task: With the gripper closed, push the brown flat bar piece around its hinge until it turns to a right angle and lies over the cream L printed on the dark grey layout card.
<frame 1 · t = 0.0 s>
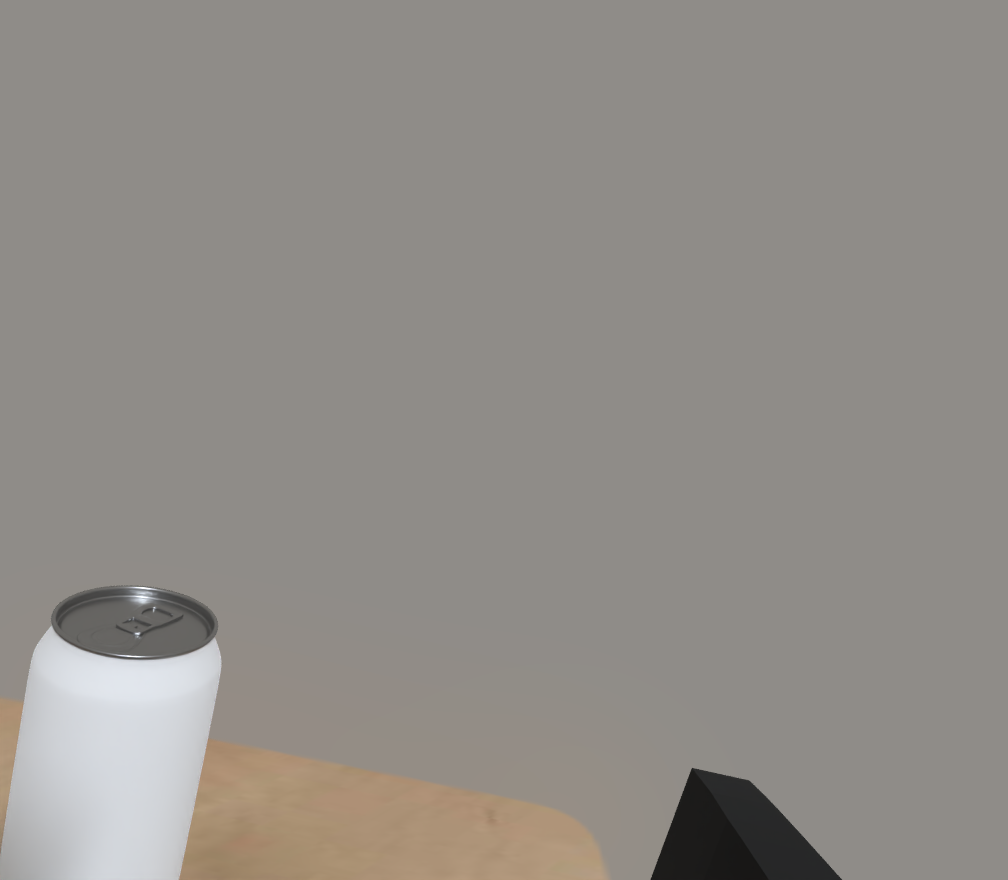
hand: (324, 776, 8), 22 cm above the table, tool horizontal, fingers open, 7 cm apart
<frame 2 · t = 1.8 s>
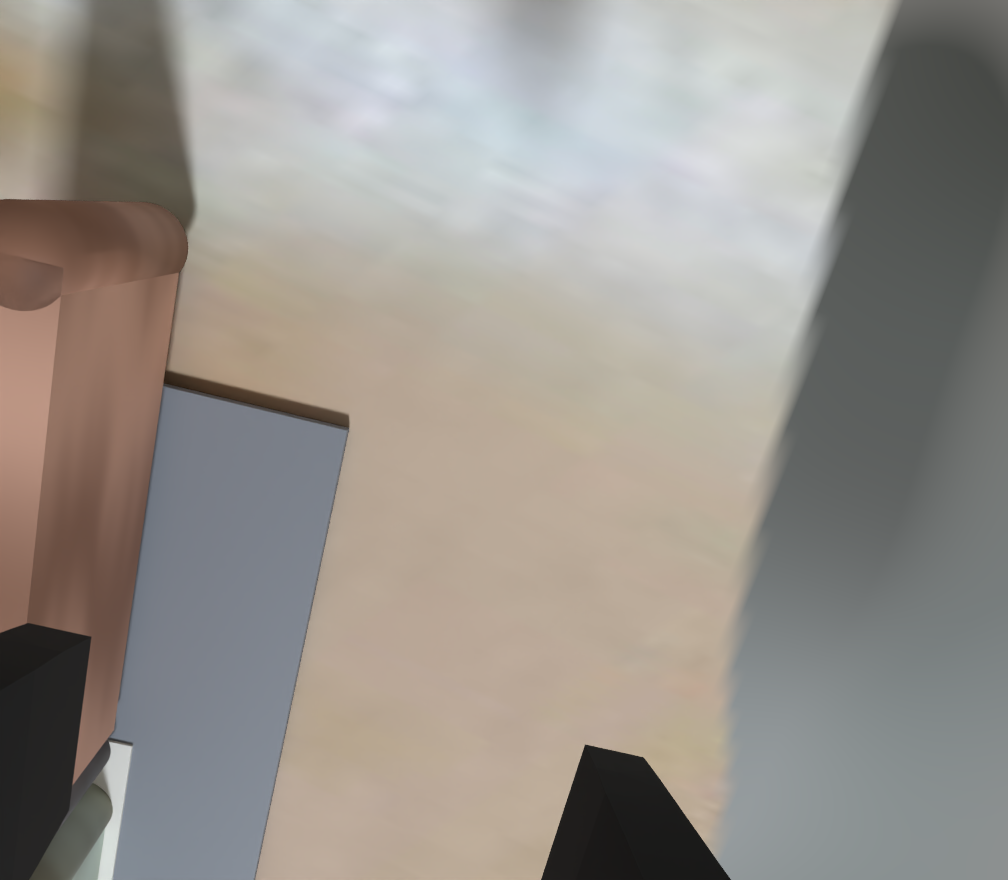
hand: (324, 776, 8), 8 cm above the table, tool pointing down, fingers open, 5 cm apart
brown flat bar piece: (51, 563, 14), point 3 cm above the table, hinge at 0.0°
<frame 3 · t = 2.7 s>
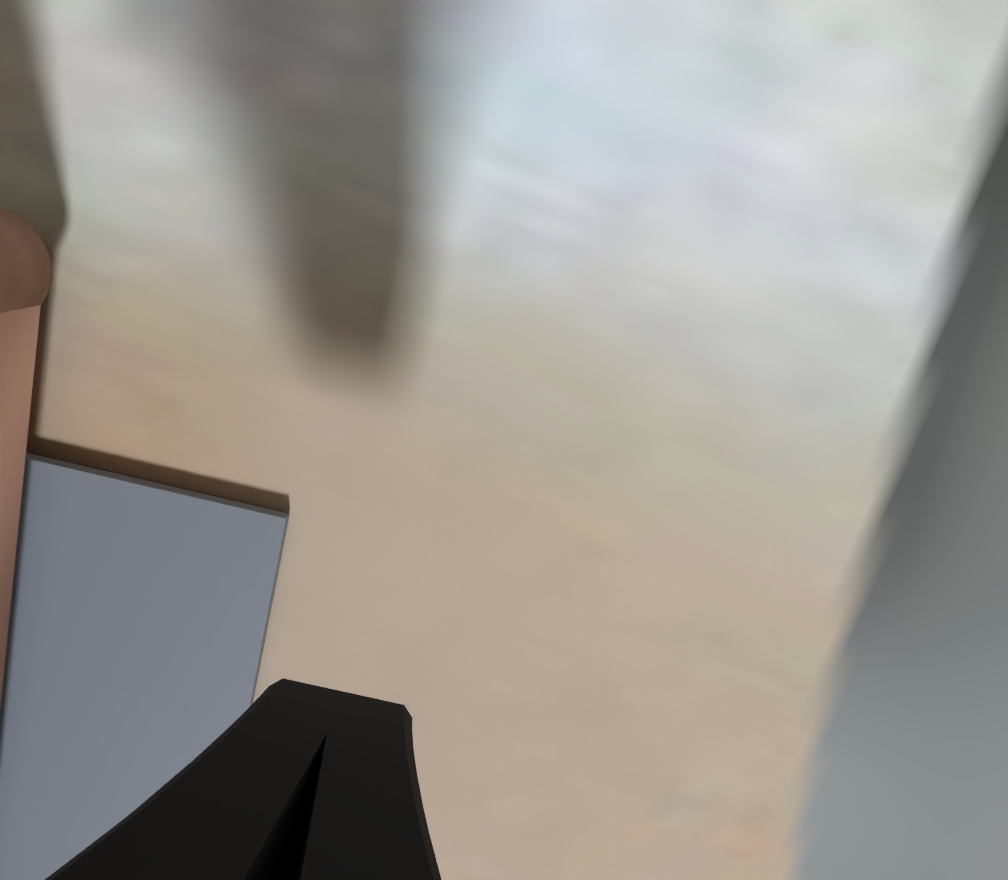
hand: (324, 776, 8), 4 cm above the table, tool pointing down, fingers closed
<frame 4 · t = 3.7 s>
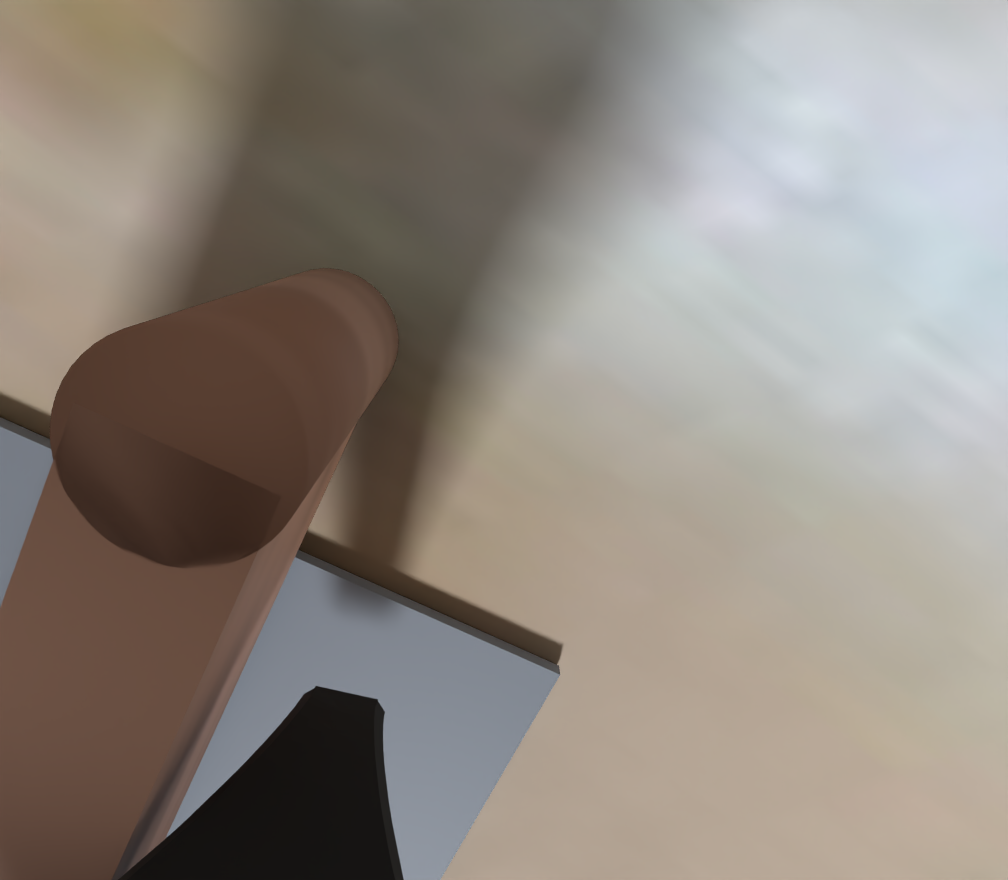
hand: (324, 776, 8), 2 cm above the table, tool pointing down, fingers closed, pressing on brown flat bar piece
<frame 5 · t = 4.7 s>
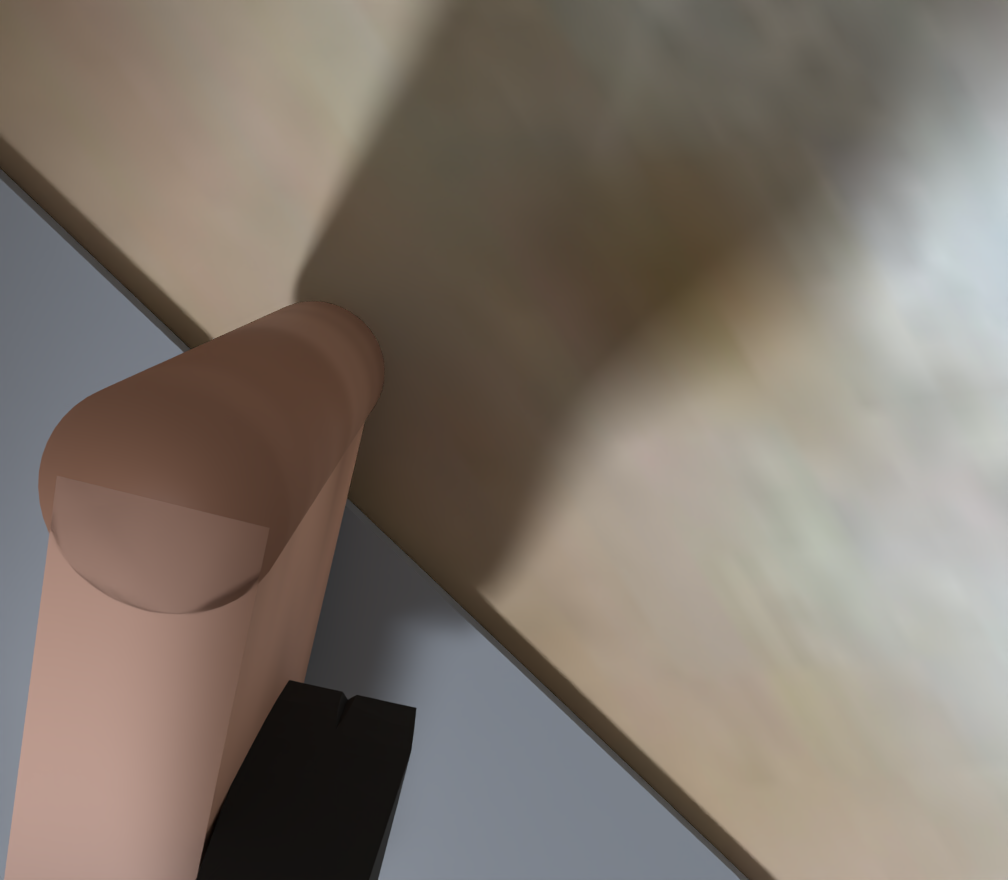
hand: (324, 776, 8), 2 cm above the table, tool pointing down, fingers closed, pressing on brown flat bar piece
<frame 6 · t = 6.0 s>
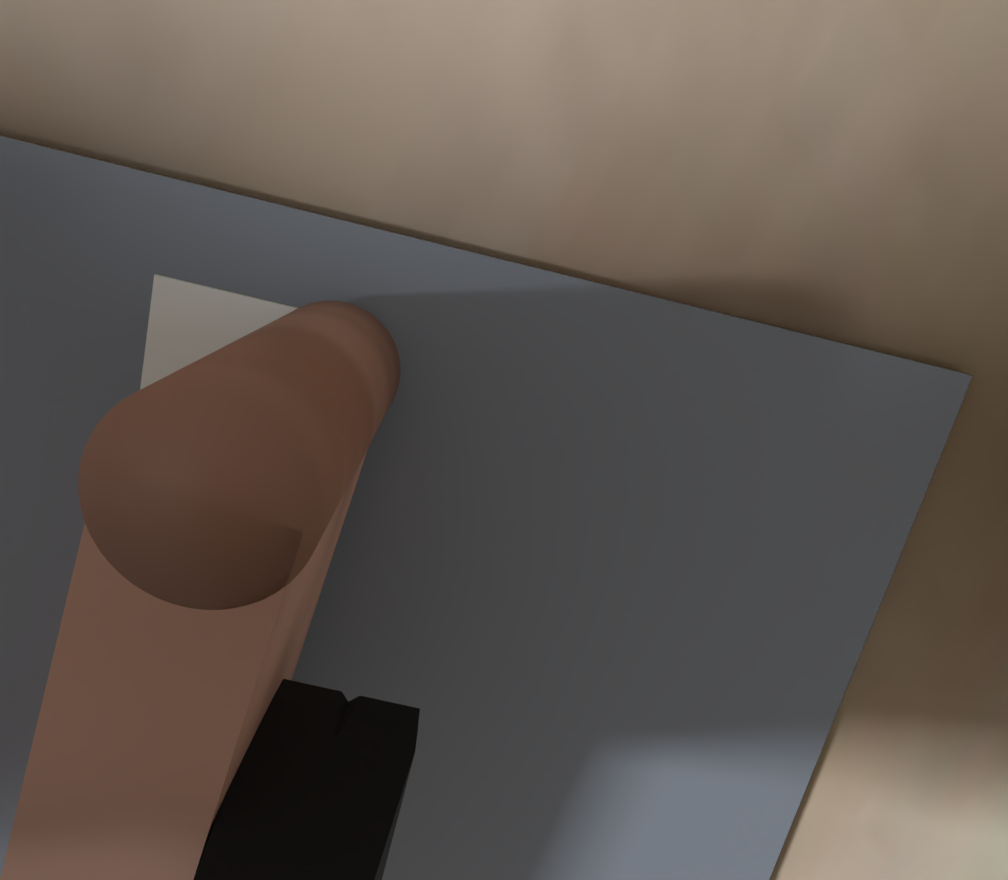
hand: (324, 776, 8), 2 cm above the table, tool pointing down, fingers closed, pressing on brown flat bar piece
layout card: (89, 800, 11), on the table
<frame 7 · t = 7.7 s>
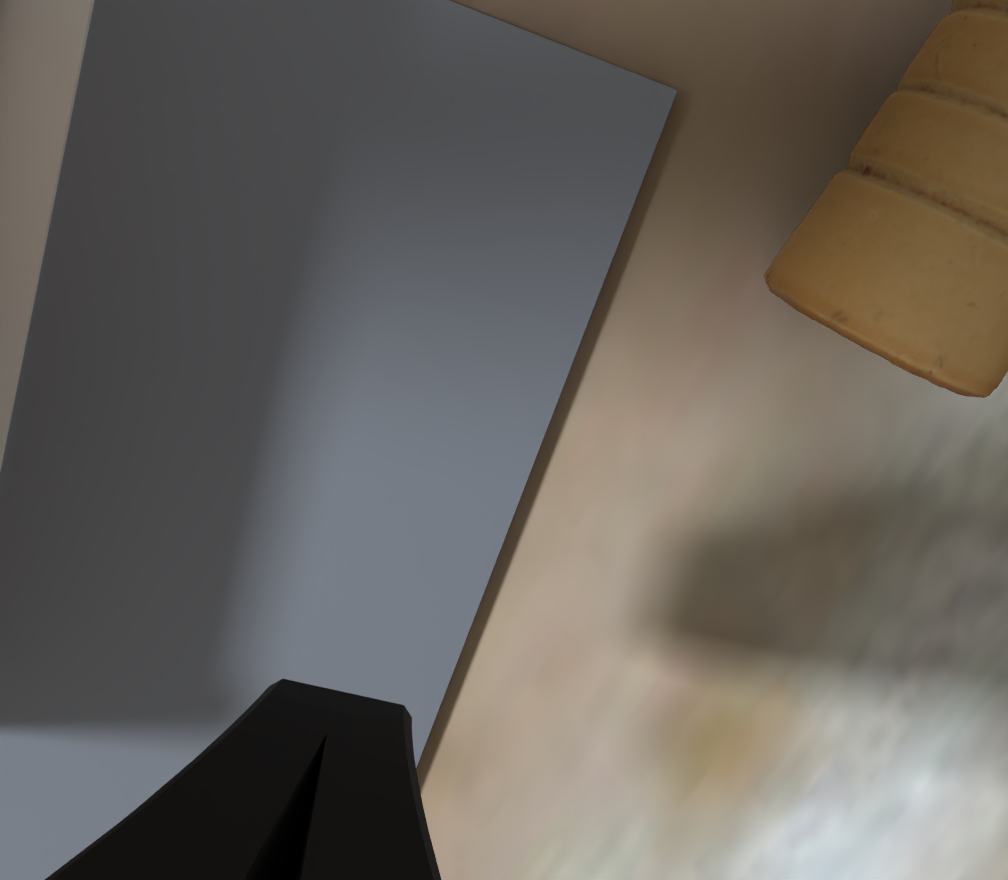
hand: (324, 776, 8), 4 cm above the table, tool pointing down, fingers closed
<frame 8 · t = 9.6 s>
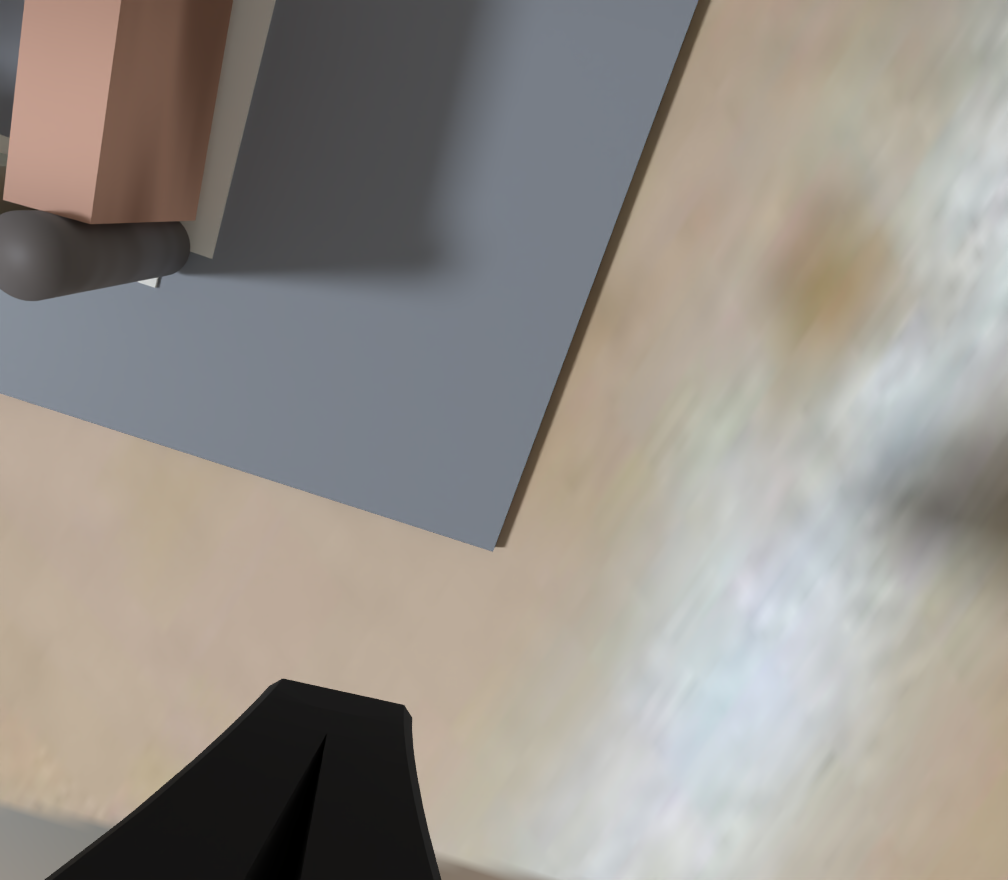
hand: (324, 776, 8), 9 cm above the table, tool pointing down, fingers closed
layout card: (165, 8, 15), on the table
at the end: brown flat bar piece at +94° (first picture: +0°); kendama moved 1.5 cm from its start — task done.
